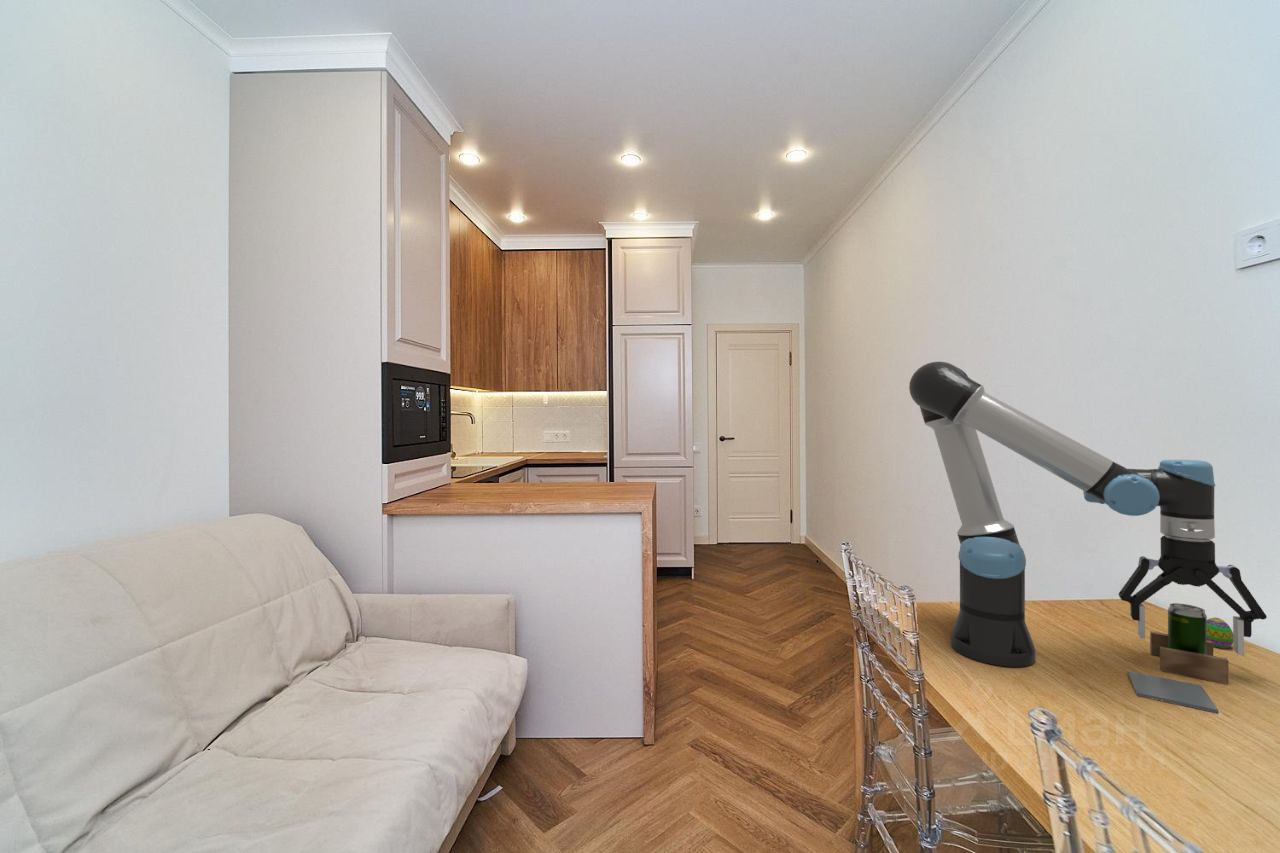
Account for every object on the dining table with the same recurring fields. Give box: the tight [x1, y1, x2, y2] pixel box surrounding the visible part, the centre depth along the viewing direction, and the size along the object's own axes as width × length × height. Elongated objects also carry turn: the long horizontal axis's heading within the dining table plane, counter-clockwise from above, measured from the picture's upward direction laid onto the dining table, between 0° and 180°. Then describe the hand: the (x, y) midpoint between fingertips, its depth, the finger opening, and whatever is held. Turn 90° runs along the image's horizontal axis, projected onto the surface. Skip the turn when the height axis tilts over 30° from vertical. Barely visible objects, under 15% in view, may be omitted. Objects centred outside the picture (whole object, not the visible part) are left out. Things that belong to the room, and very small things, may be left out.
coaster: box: [1127, 670, 1219, 714], centre depth 95 cm, size 10×10×1 cm
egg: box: [1207, 617, 1233, 649], centre depth 115 cm, size 5×5×6 cm
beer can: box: [1167, 602, 1208, 655], centre depth 105 cm, size 5×5×12 cm
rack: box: [1149, 630, 1230, 685], centre depth 105 cm, size 9×10×4 cm
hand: (1188, 644), depth 105 cm, fingers open, 13 cm apart
